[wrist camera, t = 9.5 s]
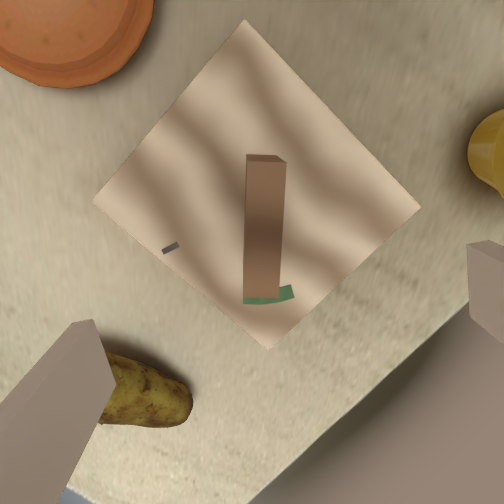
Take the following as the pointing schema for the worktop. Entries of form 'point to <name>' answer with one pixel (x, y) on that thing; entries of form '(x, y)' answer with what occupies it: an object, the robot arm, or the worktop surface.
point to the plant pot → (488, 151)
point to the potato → (145, 396)
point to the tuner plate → (233, 187)
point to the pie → (70, 38)
